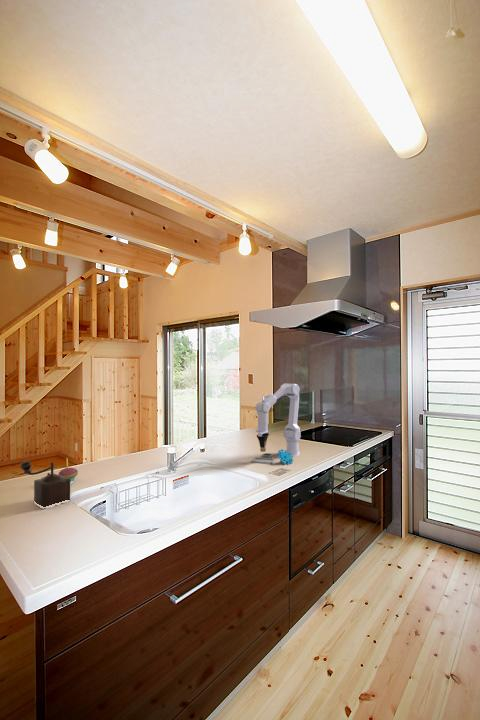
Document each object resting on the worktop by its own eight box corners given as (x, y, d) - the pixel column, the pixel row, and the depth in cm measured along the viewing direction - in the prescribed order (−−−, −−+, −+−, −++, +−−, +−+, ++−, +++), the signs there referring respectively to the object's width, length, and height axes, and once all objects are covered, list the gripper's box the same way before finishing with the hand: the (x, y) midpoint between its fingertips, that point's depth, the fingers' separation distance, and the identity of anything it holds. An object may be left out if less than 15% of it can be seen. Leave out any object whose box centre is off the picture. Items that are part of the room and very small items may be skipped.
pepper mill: (59, 495, 148) (59, 453, 148) (71, 501, 141) (71, 457, 141) (18, 507, 136) (18, 461, 136) (29, 514, 129) (29, 466, 129)
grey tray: (255, 459, 203) (255, 457, 203) (274, 460, 199) (274, 458, 199) (251, 462, 195) (251, 460, 195) (271, 464, 191) (271, 462, 191)
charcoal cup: (263, 456, 209) (263, 453, 209) (273, 457, 207) (273, 453, 207) (261, 458, 203) (261, 455, 203) (271, 459, 201) (271, 456, 201)
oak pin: (261, 450, 199) (261, 439, 199) (266, 450, 198) (266, 440, 198) (259, 451, 196) (259, 440, 196) (264, 451, 195) (264, 441, 195)
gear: (282, 463, 187) (275, 448, 193) (276, 469, 190) (270, 454, 197) (297, 463, 192) (291, 448, 199) (292, 469, 195) (286, 454, 202)
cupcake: (55, 483, 163) (55, 458, 164) (73, 478, 170) (73, 454, 170) (62, 487, 158) (62, 461, 158) (81, 482, 164) (81, 457, 164)
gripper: (259, 420, 206) (259, 443, 205) (252, 424, 192) (252, 449, 191) (270, 421, 203) (271, 444, 203) (264, 425, 190) (265, 450, 189)
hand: (263, 446), depth 197 cm, fingers closed on oak pin, 3 cm apart
